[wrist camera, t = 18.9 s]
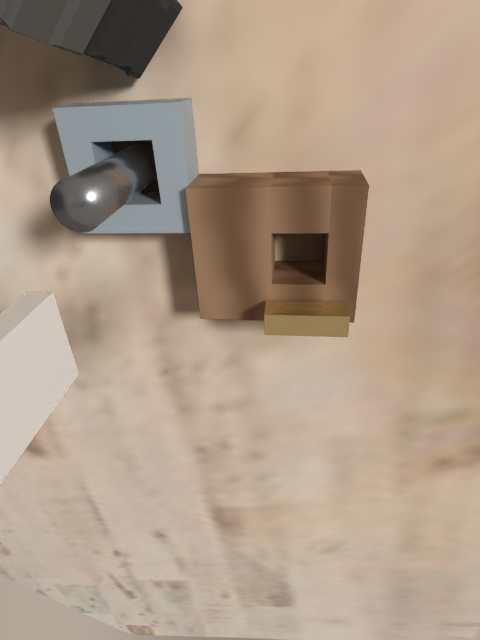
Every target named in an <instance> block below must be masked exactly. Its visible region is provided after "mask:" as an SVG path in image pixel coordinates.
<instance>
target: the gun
mask: <svg viewBox="0 0 480 640" xmlns="http://www.w3.org/2000/svg"><path fill="white" fill-rule="evenodd" d="M181 9H182V6H181V5H180V3H179V2H178V1H177V0H0V24H2V25H5V26H7V27H8V28H9V29H10V30H12V31H14V32H17V33H20V34H22V35H25V36H28V37H30V38H33V39H36V40H38V41H41V42H44V43H46V44H49V45H52V46H55V47H58V48H61V49H64V50H67V51H70V52H72V53H75V54H78V55H81V56H82V54H85V55H88V56H91V57H93V58H96V59H99V60H101V61H104V62H106V63H109V64H112V65H114V66H116V67H118V68H120V69H122V70H123V71H125V72H126V73H127V74H128V75H129V76H132V77H135V78H137V79H138V78H140V77H141V75H142V74H143V72H144V70H145V69H146V67H147V66H148V64H149V62H150V61H151V59H152V57H153V56H154V54H155V52H156V51H157V49H158V47H159V46H160V44H161V42H162V41H163V39H164V37H165V36H166V34H167V33H168V31H169V29H170V28H171V26H172V24H173V23H174V21H175V19H176V18H177V16H178V14H179V13H180V11H181Z"/></svg>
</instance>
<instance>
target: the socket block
mask: <svg viewBox="0 0 480 640" xmlns="http://www.w3.org/2000/svg"><path fill="white" fill-rule="evenodd" d="M368 189H369V185H368V183H367V181H366V179H365V177H364V175H363V174H362V172H361V170H360V171H317V172H273V173H230V174H199V175H198V176H197V177H196V178H195V179H194V180H193V181H192V182H191V183H190V184H189V186H188V187H187V188H186V196H187V205H188V214H189V222H190V231H191V240H192V249H193V257H194V266H195V275H196V283H197V292H198V301H199V310H200V318H201V319H231V320H264V312H265V305H266V301H301V302H347V303H348V309H349V314H350V321H349V322H354V318H355V308H356V299H357V290H358V281H359V272H360V262H361V253H362V244H363V235H364V226H365V216H366V207H367V198H368ZM275 233H325V236H324V254H323V261H275Z"/></svg>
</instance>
